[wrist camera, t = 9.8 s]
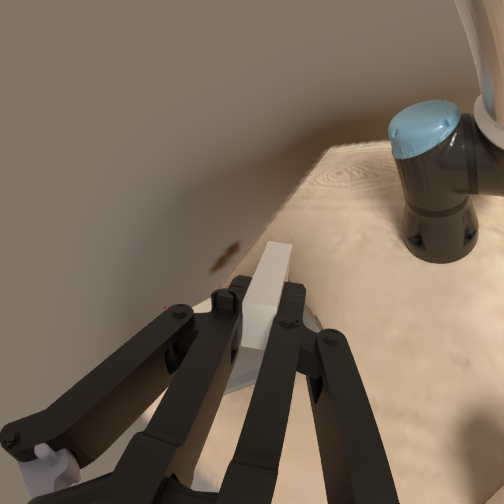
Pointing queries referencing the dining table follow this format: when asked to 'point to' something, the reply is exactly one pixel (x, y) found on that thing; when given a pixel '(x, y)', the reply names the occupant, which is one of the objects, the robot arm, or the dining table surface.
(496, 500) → the jar
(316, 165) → the dining table surface
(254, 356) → the console
